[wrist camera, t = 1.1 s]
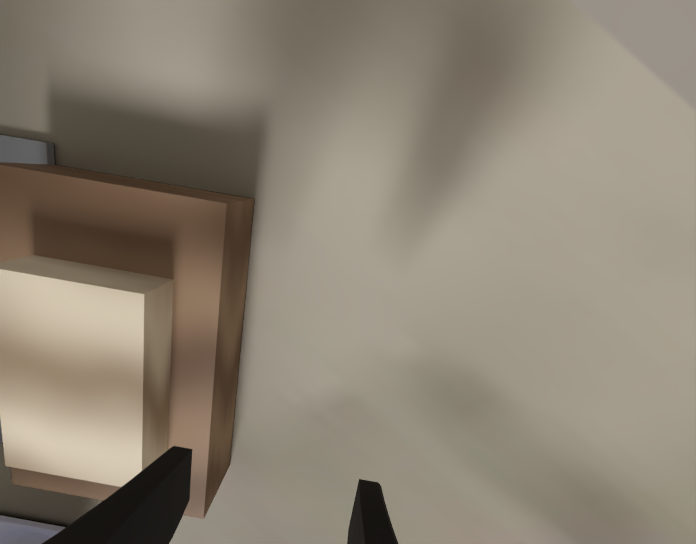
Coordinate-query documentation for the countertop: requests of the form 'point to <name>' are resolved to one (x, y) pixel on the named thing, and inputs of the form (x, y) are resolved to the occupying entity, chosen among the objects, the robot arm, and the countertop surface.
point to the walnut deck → (156, 260)
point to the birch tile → (83, 368)
